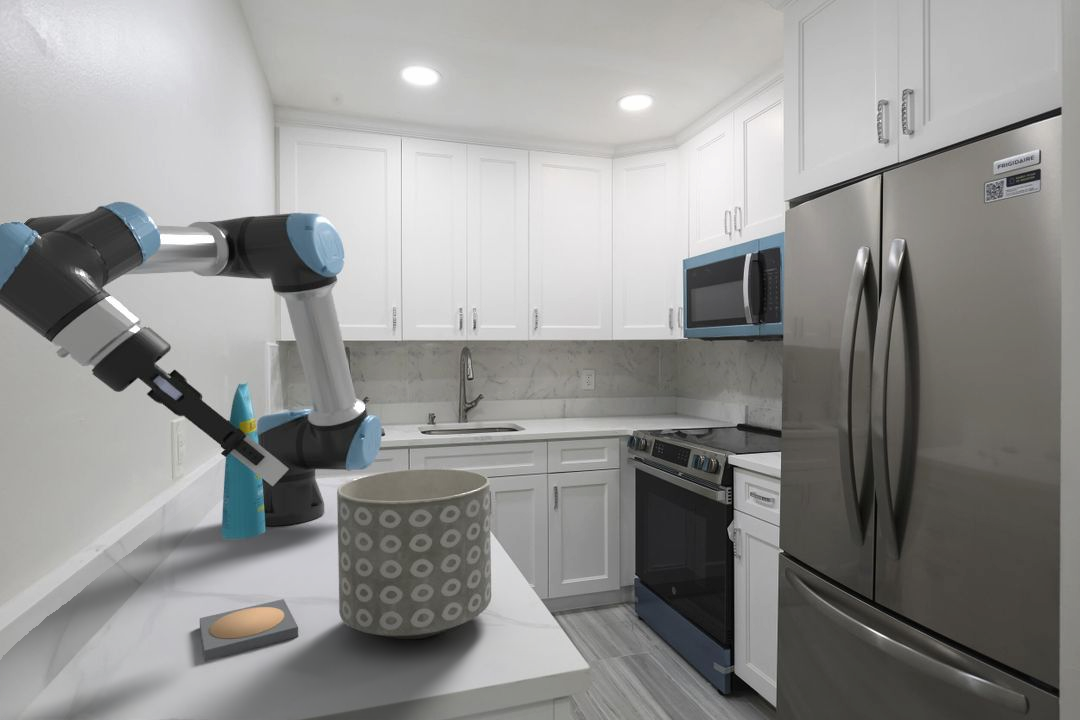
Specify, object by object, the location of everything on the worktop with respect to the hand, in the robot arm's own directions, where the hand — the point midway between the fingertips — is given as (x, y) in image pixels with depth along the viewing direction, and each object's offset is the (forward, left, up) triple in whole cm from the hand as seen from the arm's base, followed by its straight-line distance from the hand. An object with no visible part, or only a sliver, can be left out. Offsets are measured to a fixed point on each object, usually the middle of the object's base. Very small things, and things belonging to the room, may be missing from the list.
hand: (275, 472), depth 74 cm
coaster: (0, -4, -20) cm, 20 cm away
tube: (0, -4, -8) cm, 8 cm away
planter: (+10, +15, -20) cm, 27 cm away
